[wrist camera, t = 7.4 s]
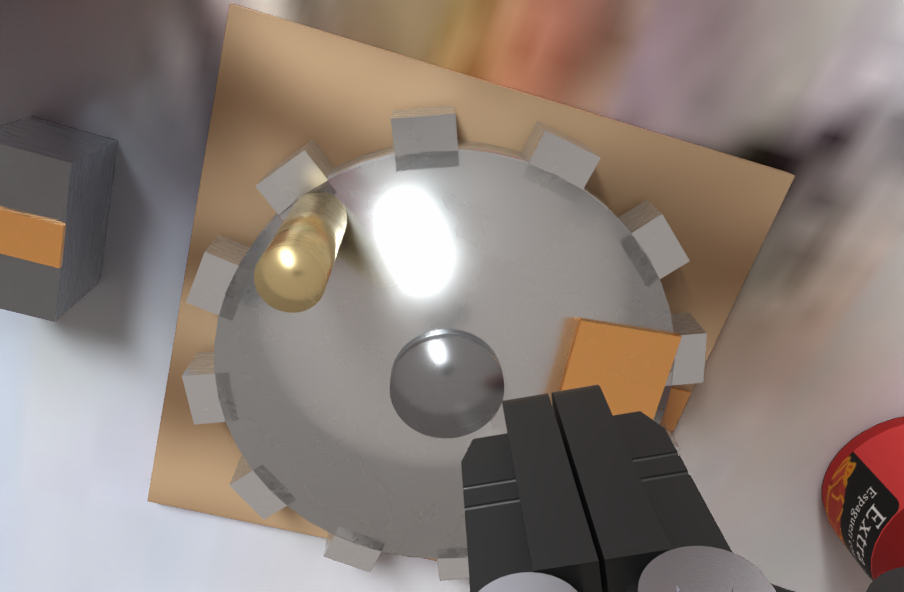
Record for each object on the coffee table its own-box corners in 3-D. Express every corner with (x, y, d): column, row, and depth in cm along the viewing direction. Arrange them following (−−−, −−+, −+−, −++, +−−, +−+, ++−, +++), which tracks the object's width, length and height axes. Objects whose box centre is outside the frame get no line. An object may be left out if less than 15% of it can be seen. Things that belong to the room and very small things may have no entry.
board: (233, 3, 26) (228, 4, 25) (788, 172, 29) (797, 176, 28) (152, 492, 34) (145, 503, 33) (592, 584, 37) (596, 596, 36)
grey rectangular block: (31, 115, 27) (-34, 136, 23) (119, 140, 28) (69, 164, 24) (19, 260, 29) (-42, 300, 26) (101, 280, 30) (53, 323, 26)
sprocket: (89, 301, 29) (-27, 407, 21) (521, -13, 25) (561, -15, 18) (392, 612, 36) (382, 774, 28) (768, 405, 32) (872, 530, 24)
